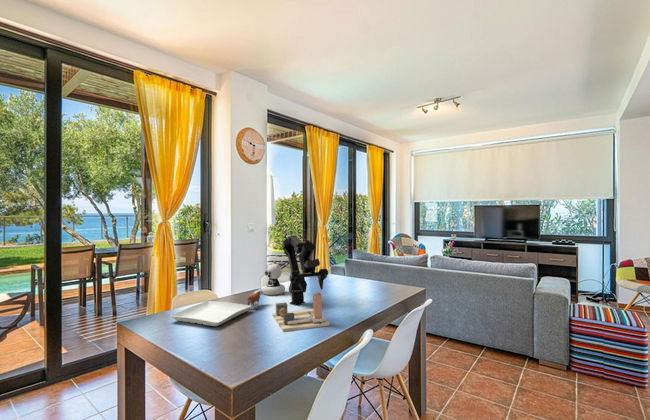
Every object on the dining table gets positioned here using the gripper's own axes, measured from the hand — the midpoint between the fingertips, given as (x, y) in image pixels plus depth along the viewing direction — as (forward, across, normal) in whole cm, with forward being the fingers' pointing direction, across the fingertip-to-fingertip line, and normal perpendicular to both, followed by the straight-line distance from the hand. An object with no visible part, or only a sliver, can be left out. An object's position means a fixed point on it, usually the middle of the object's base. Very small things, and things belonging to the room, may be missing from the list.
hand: (312, 290), depth 157 cm
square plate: (-4, -44, +24) cm, 51 cm away
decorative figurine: (-28, -8, +49) cm, 56 cm away
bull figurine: (-11, -22, +31) cm, 40 cm away
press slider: (+14, -7, +3) cm, 15 cm away
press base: (+10, -7, +8) cm, 15 cm away
